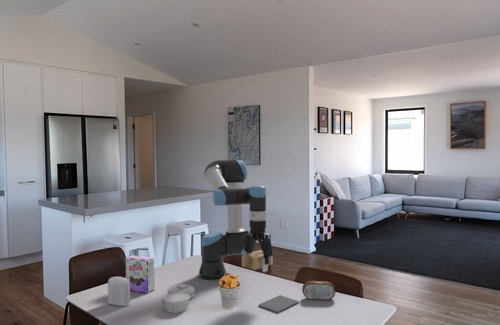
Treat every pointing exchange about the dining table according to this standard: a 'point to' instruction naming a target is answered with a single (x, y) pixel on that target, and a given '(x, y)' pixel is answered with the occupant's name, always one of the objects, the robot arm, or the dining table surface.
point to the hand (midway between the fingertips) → (258, 269)
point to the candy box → (140, 273)
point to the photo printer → (119, 291)
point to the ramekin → (176, 302)
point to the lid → (182, 289)
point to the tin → (318, 290)
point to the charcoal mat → (278, 304)
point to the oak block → (254, 260)
